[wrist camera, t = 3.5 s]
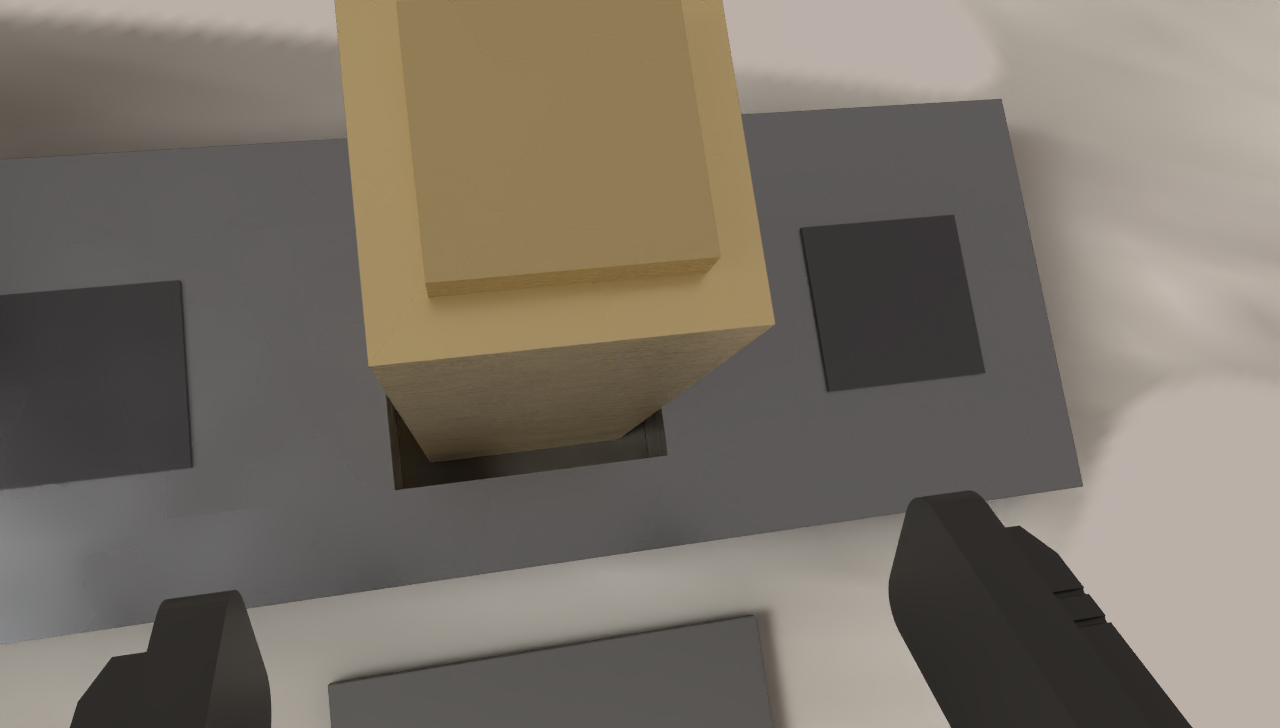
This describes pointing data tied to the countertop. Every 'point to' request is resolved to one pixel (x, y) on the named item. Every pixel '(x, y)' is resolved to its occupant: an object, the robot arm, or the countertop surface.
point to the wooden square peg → (547, 213)
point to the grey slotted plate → (366, 418)
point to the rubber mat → (578, 685)
